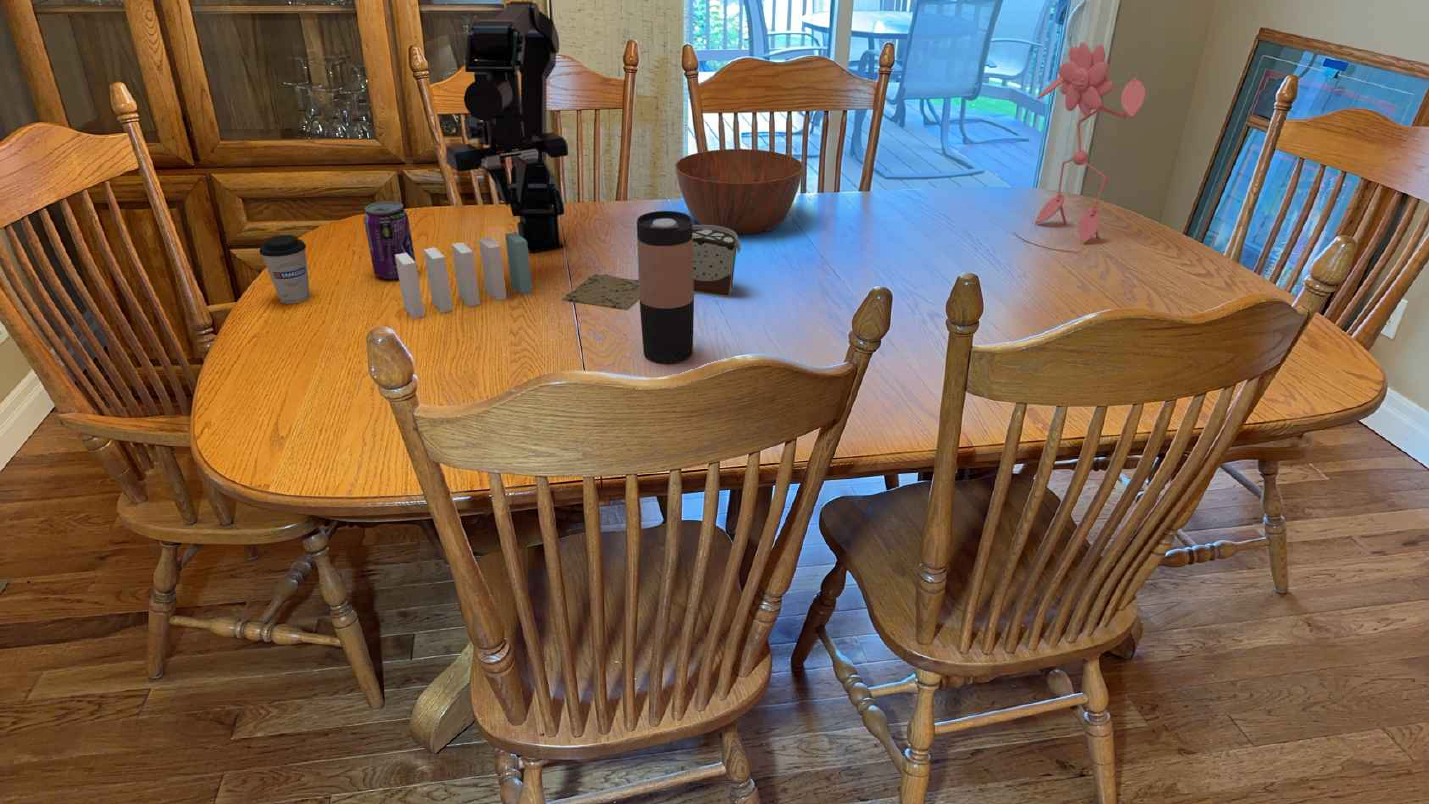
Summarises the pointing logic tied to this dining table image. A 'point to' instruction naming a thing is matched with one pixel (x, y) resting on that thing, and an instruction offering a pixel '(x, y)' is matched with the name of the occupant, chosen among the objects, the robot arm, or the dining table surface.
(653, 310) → the travel mug
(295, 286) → the coffee cup
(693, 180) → the bowl
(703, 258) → the food container
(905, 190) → the dining table surface
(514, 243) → the domino
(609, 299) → the speckled square tile
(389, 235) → the beverage can
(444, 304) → the domino
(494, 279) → the domino
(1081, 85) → the figurine
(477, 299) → the domino
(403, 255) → the domino
